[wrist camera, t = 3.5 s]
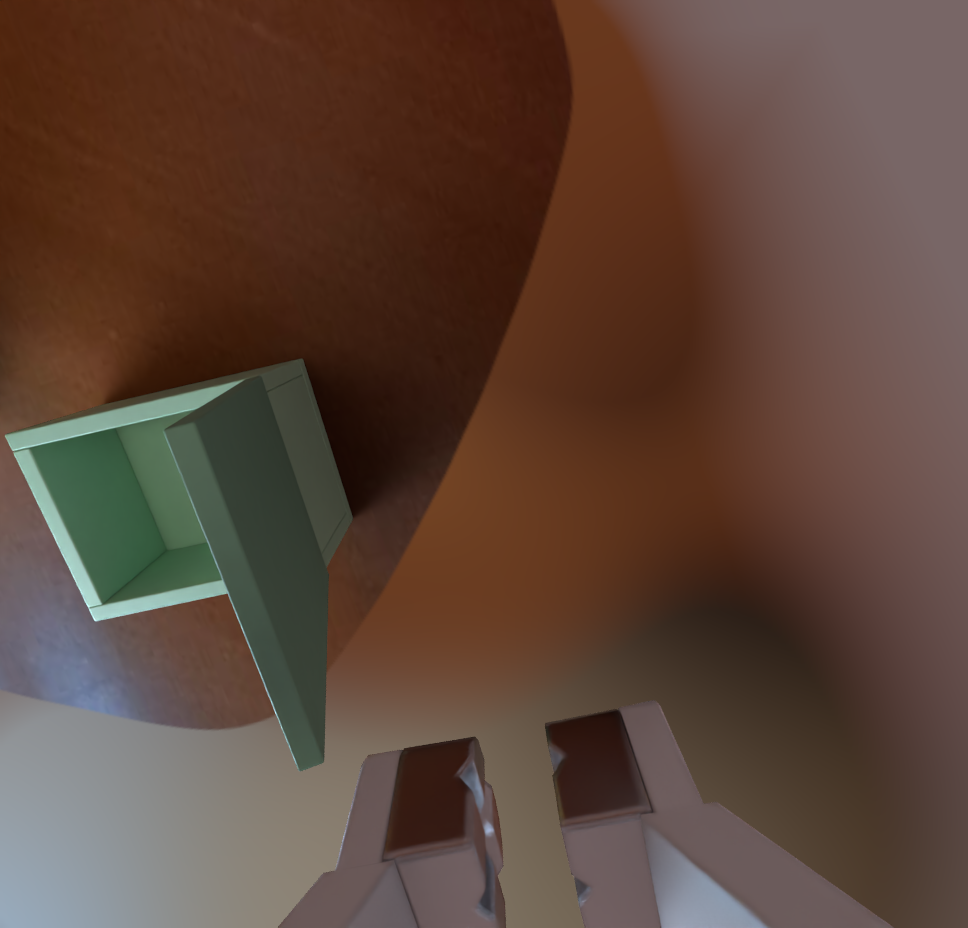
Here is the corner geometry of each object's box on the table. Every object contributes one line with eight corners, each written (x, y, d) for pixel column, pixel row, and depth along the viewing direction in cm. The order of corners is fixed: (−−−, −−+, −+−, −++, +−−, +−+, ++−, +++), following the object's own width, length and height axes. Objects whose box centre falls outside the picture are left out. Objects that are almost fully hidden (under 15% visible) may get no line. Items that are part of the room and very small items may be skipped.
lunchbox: (167, 559, 34) (94, 622, 28) (101, 405, 32) (3, 434, 25) (353, 518, 34) (324, 573, 27) (303, 357, 31) (256, 376, 24)
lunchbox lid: (298, 773, 15) (324, 763, 15) (161, 430, 12) (194, 421, 13) (314, 580, 27) (329, 575, 27) (244, 379, 24) (261, 375, 24)
